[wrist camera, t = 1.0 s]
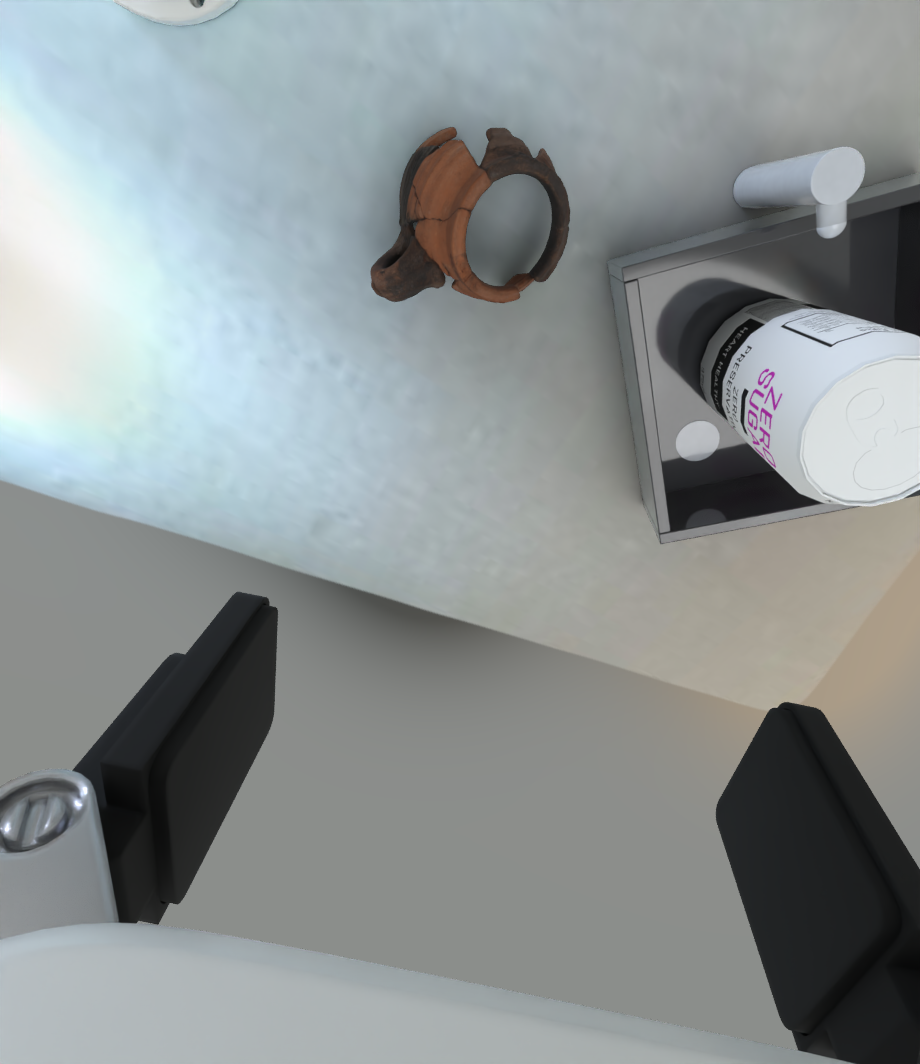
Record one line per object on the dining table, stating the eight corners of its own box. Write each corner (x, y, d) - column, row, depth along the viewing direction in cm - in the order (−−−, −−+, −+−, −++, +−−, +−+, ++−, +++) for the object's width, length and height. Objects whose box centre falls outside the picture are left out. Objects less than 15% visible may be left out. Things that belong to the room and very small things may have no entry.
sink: (599, 211, 36) (627, 210, 27) (919, 115, 33) (1079, 75, 24) (643, 506, 45) (676, 581, 36) (900, 454, 42) (1010, 522, 32)
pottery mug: (472, 76, 34) (542, 89, 28) (540, 218, 41) (608, 251, 35) (317, 221, 36) (354, 261, 30) (407, 336, 42) (452, 386, 37)
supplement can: (849, 372, 39) (1017, 450, 26) (733, 445, 42) (831, 548, 29) (793, 268, 37) (948, 296, 24) (673, 353, 40) (752, 420, 27)
